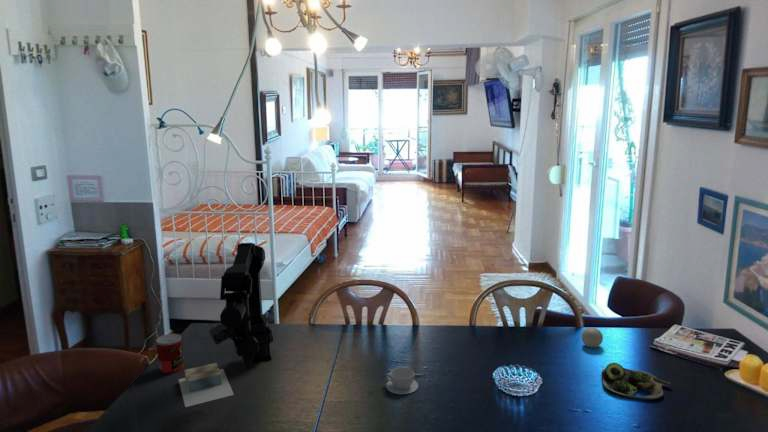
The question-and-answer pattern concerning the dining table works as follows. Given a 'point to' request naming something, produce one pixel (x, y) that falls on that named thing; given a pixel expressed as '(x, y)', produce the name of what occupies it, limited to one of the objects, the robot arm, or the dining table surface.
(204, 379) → the beech slab
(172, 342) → the canned food
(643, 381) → the salad plate
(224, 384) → the white flat tray
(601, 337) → the baseball
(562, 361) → the dining table surface
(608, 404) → the dining table surface
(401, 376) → the teacup
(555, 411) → the dining table surface
